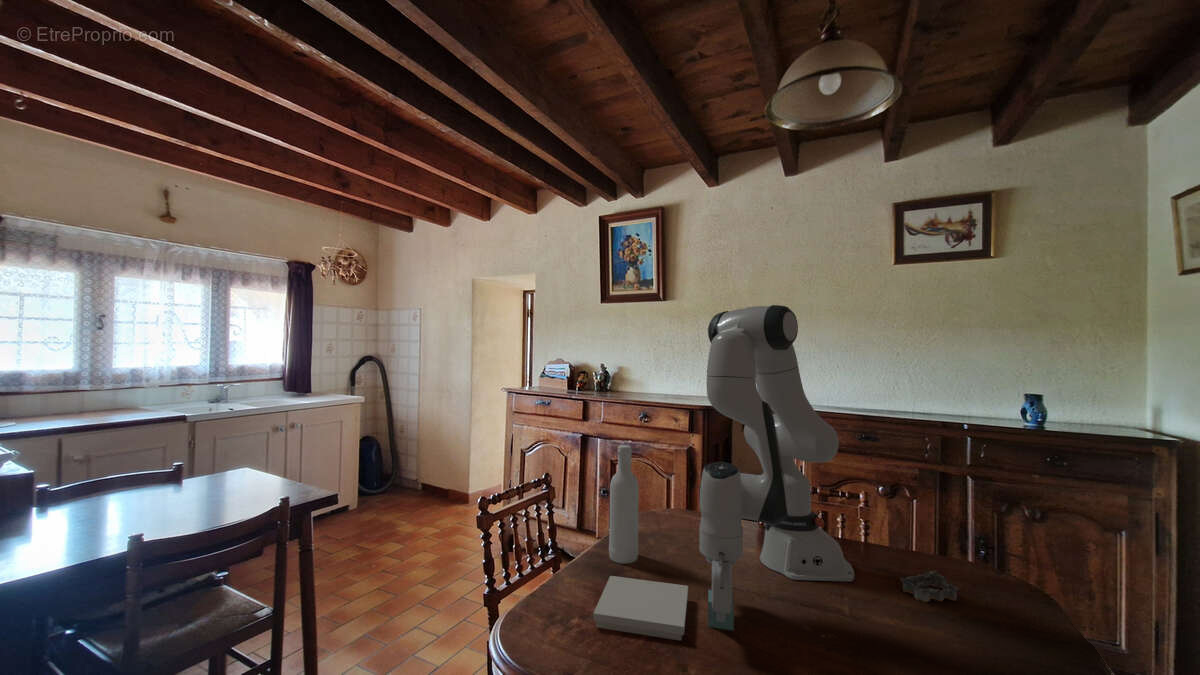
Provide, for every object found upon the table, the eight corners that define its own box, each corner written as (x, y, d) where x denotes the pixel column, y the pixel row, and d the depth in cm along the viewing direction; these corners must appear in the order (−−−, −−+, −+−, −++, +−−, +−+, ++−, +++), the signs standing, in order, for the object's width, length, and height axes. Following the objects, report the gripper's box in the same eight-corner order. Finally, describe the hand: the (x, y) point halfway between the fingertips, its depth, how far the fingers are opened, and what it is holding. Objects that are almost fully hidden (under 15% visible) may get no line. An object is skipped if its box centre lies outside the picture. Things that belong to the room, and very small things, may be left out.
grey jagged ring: (938, 586, 112) (938, 569, 112) (964, 603, 104) (964, 585, 104) (896, 587, 111) (896, 570, 111) (919, 604, 103) (919, 586, 104)
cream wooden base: (688, 599, 104) (688, 585, 104) (684, 642, 88) (684, 626, 88) (610, 588, 108) (610, 575, 108) (593, 628, 93) (593, 613, 93)
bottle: (644, 557, 125) (645, 446, 126) (626, 567, 119) (627, 450, 120) (621, 548, 130) (622, 441, 131) (602, 557, 124) (604, 445, 125)
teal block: (732, 616, 97) (732, 592, 97) (733, 630, 92) (733, 605, 93) (708, 613, 99) (708, 589, 99) (708, 626, 94) (708, 601, 94)
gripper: (739, 568, 85) (739, 644, 85) (734, 527, 105) (734, 589, 105) (704, 564, 87) (704, 639, 86) (705, 524, 106) (705, 585, 106)
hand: (720, 611), depth 96 cm, fingers closed on teal block, 5 cm apart
